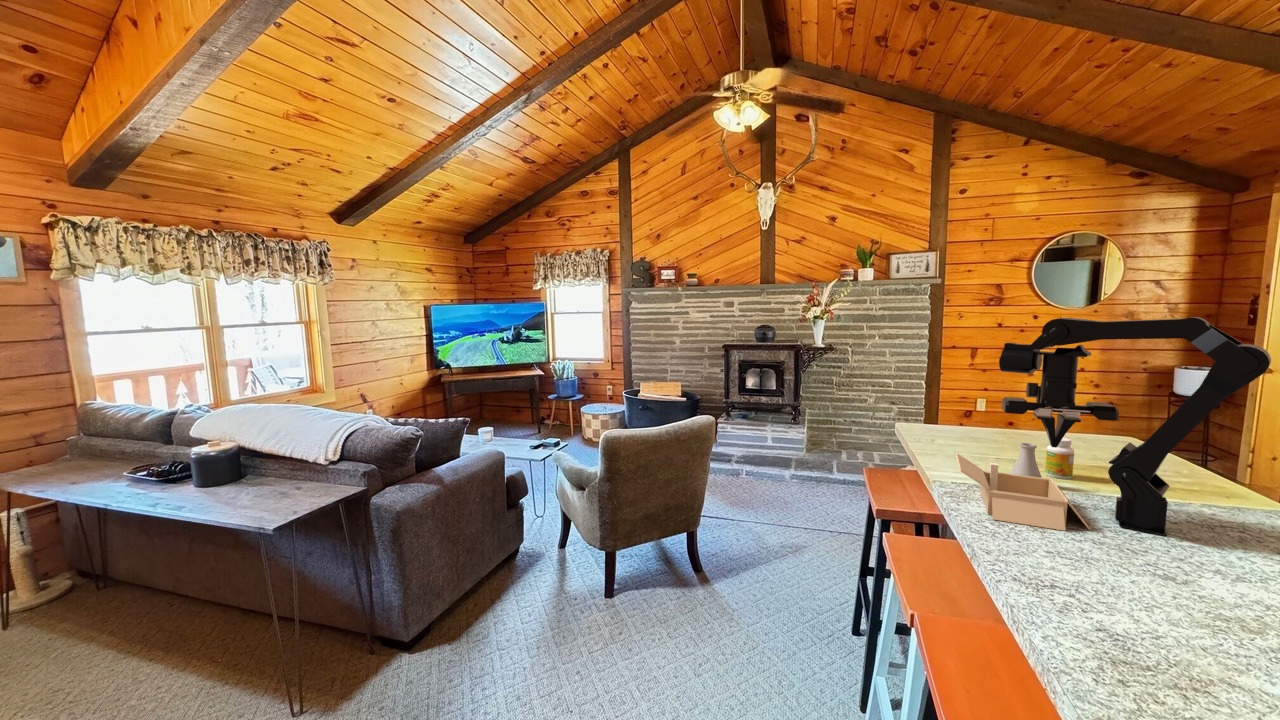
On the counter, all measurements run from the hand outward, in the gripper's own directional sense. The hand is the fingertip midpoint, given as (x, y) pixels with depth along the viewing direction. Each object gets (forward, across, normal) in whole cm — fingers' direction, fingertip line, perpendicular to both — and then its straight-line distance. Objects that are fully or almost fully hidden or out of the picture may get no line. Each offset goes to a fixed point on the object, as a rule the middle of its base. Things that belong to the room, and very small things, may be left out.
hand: (1053, 446), depth 108 cm
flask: (+13, +2, -13) cm, 19 cm away
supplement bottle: (+13, -6, -23) cm, 27 cm away
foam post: (+13, +10, -1) cm, 17 cm away
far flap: (+8, +12, +5) cm, 15 cm away
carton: (+13, +4, +5) cm, 14 cm away
